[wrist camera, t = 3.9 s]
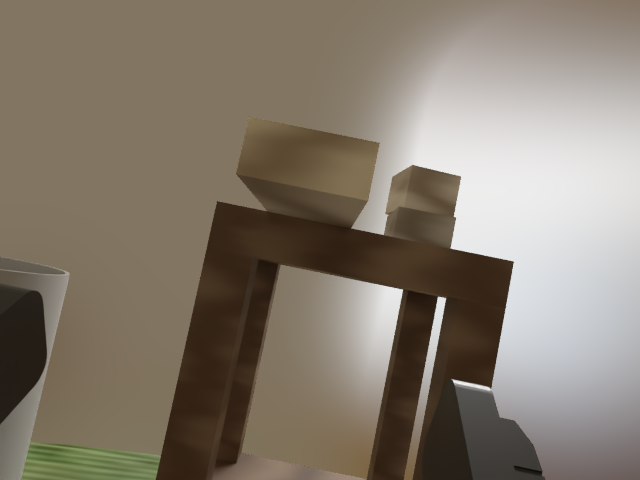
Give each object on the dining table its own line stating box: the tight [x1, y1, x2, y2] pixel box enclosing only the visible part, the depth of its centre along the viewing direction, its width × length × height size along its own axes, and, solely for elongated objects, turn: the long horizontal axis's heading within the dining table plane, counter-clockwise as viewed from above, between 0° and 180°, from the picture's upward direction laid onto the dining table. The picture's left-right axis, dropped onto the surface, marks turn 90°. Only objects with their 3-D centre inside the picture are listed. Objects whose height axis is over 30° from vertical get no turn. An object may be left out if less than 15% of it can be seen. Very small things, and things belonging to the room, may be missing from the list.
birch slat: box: [236, 117, 379, 228], centre depth 29 cm, size 4×24×2 cm, turn 0°
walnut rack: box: [156, 201, 514, 480], centre depth 35 cm, size 16×18×32 cm
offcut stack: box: [384, 165, 461, 249], centre depth 38 cm, size 4×6×6 cm
